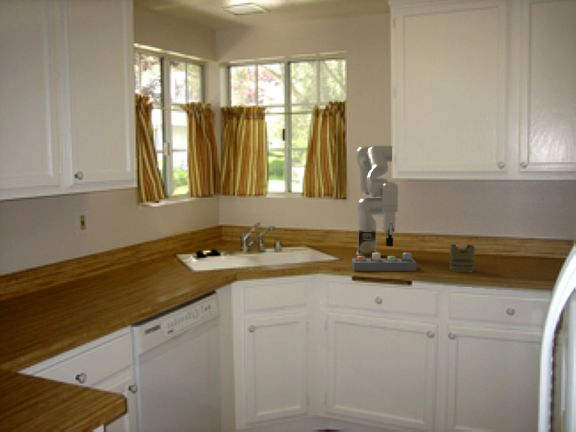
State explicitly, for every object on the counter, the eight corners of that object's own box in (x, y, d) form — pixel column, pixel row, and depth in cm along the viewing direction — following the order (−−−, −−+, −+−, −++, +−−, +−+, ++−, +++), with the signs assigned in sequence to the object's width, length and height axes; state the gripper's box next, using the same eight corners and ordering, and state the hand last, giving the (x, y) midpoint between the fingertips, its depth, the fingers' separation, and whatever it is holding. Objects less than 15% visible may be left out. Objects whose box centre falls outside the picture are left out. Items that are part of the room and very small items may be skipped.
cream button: (371, 261, 307) (371, 252, 307) (379, 261, 307) (380, 252, 307) (372, 262, 303) (372, 253, 303) (381, 262, 303) (381, 254, 303)
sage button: (386, 264, 307) (387, 255, 307) (395, 264, 307) (395, 255, 307) (388, 265, 303) (388, 257, 303) (396, 265, 303) (396, 257, 303)
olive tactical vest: (476, 247, 292) (451, 247, 294) (475, 273, 294) (450, 272, 295) (473, 244, 303) (449, 243, 305) (472, 268, 305) (448, 267, 306)
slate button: (402, 261, 307) (402, 252, 306) (410, 261, 307) (410, 252, 306) (403, 262, 303) (403, 253, 302) (411, 262, 303) (412, 253, 302)
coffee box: (357, 262, 323) (357, 231, 321) (357, 260, 329) (357, 229, 327) (375, 262, 322) (375, 231, 320) (375, 260, 328) (375, 230, 326)
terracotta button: (356, 264, 307) (356, 255, 307) (364, 264, 307) (364, 255, 307) (357, 265, 303) (357, 257, 303) (365, 265, 303) (365, 257, 303)
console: (351, 266, 311) (351, 258, 311) (411, 266, 311) (411, 258, 311) (353, 270, 300) (354, 262, 299) (416, 270, 299) (416, 262, 299)
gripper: (380, 207, 310) (380, 243, 312) (383, 209, 295) (383, 248, 297) (395, 207, 309) (395, 243, 311) (399, 209, 295) (399, 248, 296)
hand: (389, 245), depth 304 cm, fingers closed
